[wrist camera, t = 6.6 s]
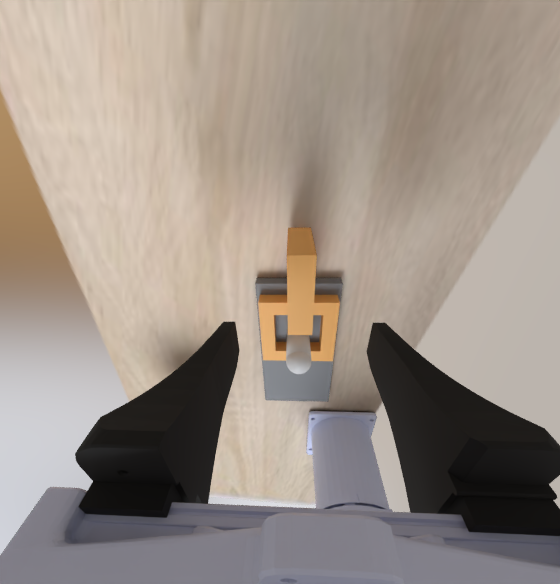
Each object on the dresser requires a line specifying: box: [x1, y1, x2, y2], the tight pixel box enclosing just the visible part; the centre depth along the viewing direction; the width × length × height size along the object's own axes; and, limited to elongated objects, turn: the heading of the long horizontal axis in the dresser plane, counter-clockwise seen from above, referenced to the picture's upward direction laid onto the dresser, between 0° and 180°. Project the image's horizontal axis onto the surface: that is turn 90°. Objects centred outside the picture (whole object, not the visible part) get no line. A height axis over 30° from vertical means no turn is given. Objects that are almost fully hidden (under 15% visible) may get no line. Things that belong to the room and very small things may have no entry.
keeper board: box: [255, 278, 343, 402], centre depth 22 cm, size 15×7×6 cm, turn 1°
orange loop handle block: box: [258, 228, 340, 361], centre depth 19 cm, size 12×6×5 cm, turn 1°
